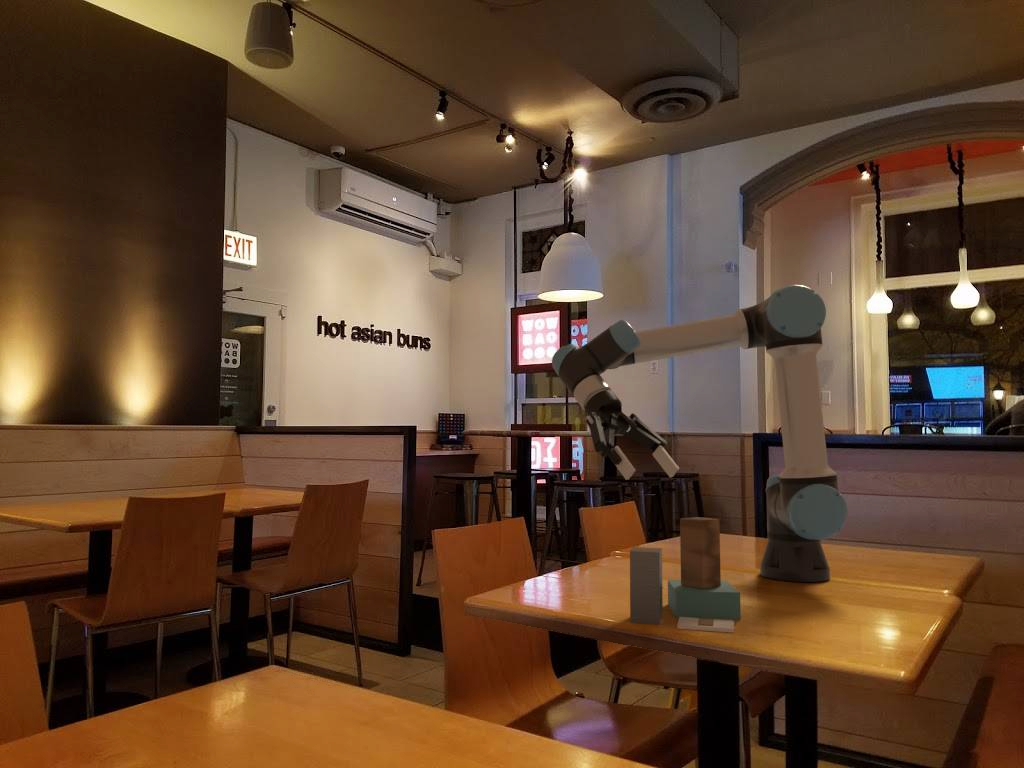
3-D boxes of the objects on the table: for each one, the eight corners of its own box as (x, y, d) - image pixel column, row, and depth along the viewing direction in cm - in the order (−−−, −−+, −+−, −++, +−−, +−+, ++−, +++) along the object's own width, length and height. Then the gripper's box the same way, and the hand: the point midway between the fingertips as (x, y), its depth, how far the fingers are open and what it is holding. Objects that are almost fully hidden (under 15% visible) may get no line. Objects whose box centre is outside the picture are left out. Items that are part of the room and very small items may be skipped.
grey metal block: (662, 617, 132) (662, 548, 133) (660, 624, 127) (659, 552, 128) (634, 615, 133) (633, 547, 134) (630, 622, 128) (629, 551, 129)
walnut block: (698, 582, 140) (697, 517, 142) (720, 585, 136) (719, 519, 138) (680, 584, 137) (679, 518, 138) (703, 588, 133) (702, 520, 135)
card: (734, 624, 127) (733, 619, 127) (734, 632, 122) (734, 627, 122) (679, 620, 130) (679, 615, 130) (677, 628, 124) (677, 623, 124)
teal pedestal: (727, 607, 142) (726, 580, 142) (740, 621, 131) (740, 592, 131) (668, 606, 142) (667, 579, 143) (676, 620, 131) (676, 591, 132)
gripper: (627, 414, 172) (681, 484, 160) (547, 412, 156) (600, 489, 144) (645, 390, 169) (702, 459, 156) (565, 385, 153) (621, 462, 140)
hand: (653, 474), depth 150 cm, fingers open, 13 cm apart
